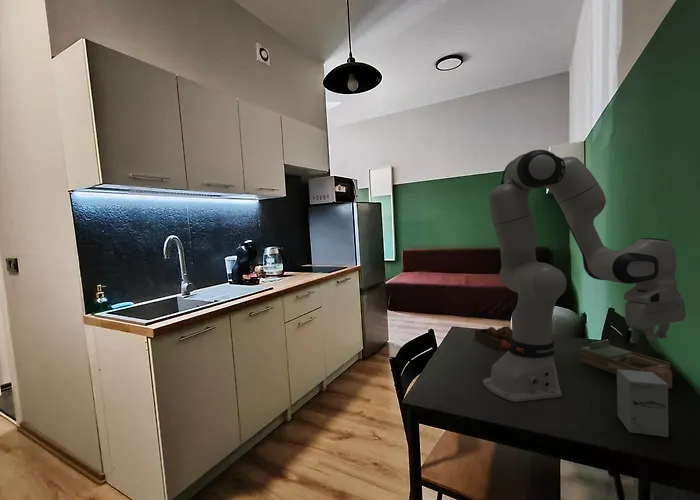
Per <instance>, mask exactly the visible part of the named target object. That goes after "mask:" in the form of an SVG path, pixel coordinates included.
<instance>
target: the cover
mask: <svg viewBox="0 0 700 500" xmlns="http://www.w3.org/2000/svg"><path fill="white" fill-rule="evenodd" d="M609 345H610V340H609V339H606V338H605V339H602V340H601V339H600V340H596V341H592V342H589V344H588V345H587V346H582V347H580V350H584V351H587V352H590V353H593V354H596V355H599V356H602V357H605V358H608V359H613V358H618V357H622V356H627V355H631V352H629V351H630V350H629V351H625V350H626V349H625V350H622V349H623V348H622V349H618V348H619V347H618V348H615V347H616V346H615V347H612V346H613V345H611V346H609Z"/></svg>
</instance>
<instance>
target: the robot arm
mask: <svg viewBox="0 0 700 500" xmlns="http://www.w3.org/2000/svg"><path fill="white" fill-rule="evenodd" d="M600 185H601V184H599V182H598V180H597V179H596V177H595V176H594V175H593V173H592V172H591V171H590V170H589V168H588V167H587V166H586V165H585V164H584V162H582V161H581V160H580V159H579V158H578V157H575V156H566V157H565V156H564V157H559V156H557V155H556V154H554V153H553V152H552V151H548V150H545V149H533V150H530V151H528V152H526V153H523V154H520V155H518V156H517V157H516V158H514V159H513V160H511V161H510V162H509V163H508V164H507V165H506V166H505V168H504V171H503V173H502V178H501V181H500V184H499V185H497V186H496V187H494V188H493V189H492V190H491V191H490V192H489V195H488V205H489V212H490V217H491V221H492V225H493V227H494V231H495V234H496V238H497V241H498V245H499V251H500V262H501V268H500V271H499V278H500V281H501V283H502V284H503V285H504V286H505V287H506V288H507V289H508V290H510V291H513V292H515V293H517V295H518V297H517V303H516V305H515V309H514V310H513V311H512V313H511V330H512V336H511V337H512V338H511V340H510V343H509V342H507V341H505V340H503V341H502V342H501V344H502V346H503V347H506V348H508V350H507V351H506V352H505V353H504V354H502V356H501V357H499V358H498V360H496V361H495V362H494V363H493V365H492V366H491V370H490V377H486V378H483V380H482V384H483V386H484V387H485V388H486V389H487V390H488V391H490V392H491V393H493V394H494V395H496V396H498V397H500V398H503V399H505V400H507V401H511V402H515V403H518V402H519V403H520V402H525V401H537V400H545V399H554V398H560V397H562V396H563V395H562V390H561V385H560V382H559V377H558V371H557V365H556V362H555V358H554V355H555V354H556V353H555V352H556V351H555V349H556V347H555V341H554V340H553V316H554V315H553V314H554V310H555V306H556V304H557V301H558V299H559V298H560V297H561V296H562V295H563V294H564V293H565V291H566V289H567V277H566V276H565V274H564V272H563V271H562V270H560V269H559V268H557V267H555V266H553V265H551V264H549V263H547V262H540V261H538V260H537V255H536V253H537V252H536V249H537V247H536V246H537V244H538V242H539V234H538V231H537V230H538V229H537V226H536V224H535V221H534V218H533V214H532V211H531V208H530V206H529V205H530V203H529V196H530V193H531V191H534V190H537V189H539V188H546V189H547V190H548V191H550V193H551V194H552V195H553V197H554V199H555V201H556V202H557V204H558V206H559V207H560V209H561V211H562V213H563V214H564V217H565V219H566V223H567V225H568V228H569V231H570V233H571V234H572V237H573V239H574V241H575V243H576V245H577V246H578V247H577V248H578V249H579V251H580V253H581V257H582V263H583V264H582V265H583V268H584V271H585V272H586V274H587V275H588V276H589V277H591V278H592V279H594V280H598V281H609V282H614V283H619V284H625V285H628V284H629V285H630V284H635V286H633V287H632V288H631V289H629V290H627V291H625V292H624V294H623V299H624V300H625V301H626V302H625V303H624V318H625V323H626V325H627V326H628V327H630V328H633V329H639V330H641V329H643V331H644V333H645V335H646V340H648V341H651V342H653V341H657V339H662V340H663V339H667V337H668V335H667V333H668V331H669V329H670V328H671V327H670V325H671V324H672V323H677V322H682V321H684V320H685V319H686V315H687V314H686V313H687V312H686V305H685V301H684V298H683V297H682V296H681V295H682V294H681V293H680V292H679V290H677V287H678V286H677V280H676V276H675V274H676V271H677V256H676V255H677V253H676V249H675V247H674V244H673V243H672V242H671V241H670V240H668V239H666V238H665V239H663V238H656V237H655V238H652V237H642V238H639V239H638V240H637V241H636V242H635V243H633V244H632V245H630V246H628V247H625V248H623V249H621V250H615V249H611V248H608V247H607V246H605V245H604V243H603V242H602V239H601V238H600V235H599V233H598V231H597V229H596V227H595V222H594V221H595V218H596V217H598V216H599V215H600V214H601V213H602V212H603V210H604V209H605V206H606V203H607V199H606V195H605V193H604V190H603V189H602V187H601V186H600ZM656 326H658V330H656V331H654V330H655V329H656Z"/></svg>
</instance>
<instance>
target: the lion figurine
mask: <svg viewBox="0 0 700 500" xmlns="http://www.w3.org/2000/svg"><path fill="white" fill-rule="evenodd" d="M487 335H489V336H492V337H494V338H497V339H499V340H502V339H508V338H511V337H512V328H511V327H510V326H508V325H506V326H502V327H500V328H497V329H496V328H495V327H493V326H489V327H488V333H487Z"/></svg>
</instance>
